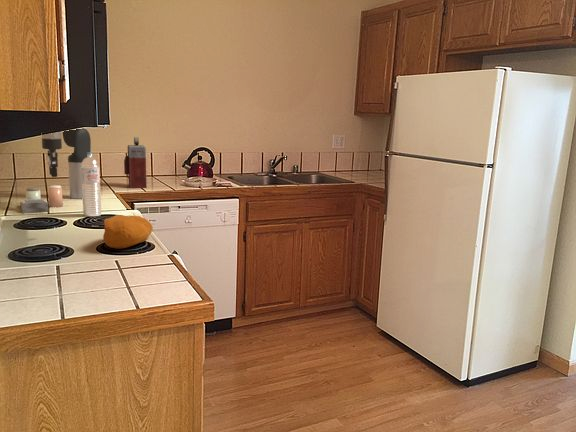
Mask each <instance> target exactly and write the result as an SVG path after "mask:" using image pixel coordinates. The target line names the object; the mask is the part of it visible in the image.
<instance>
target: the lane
mask: <svg viewBox="0 0 576 432" xmlns="http://www.w3.org/2000/svg"><path fill="white" fill-rule="evenodd" d="M19 205H20V210H21V212H22V214H35V213H36V214H37V213H38V212H39V213H49V201H44V202H36V203H25V202H23V201H21V202H19Z"/></svg>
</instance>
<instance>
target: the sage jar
mask: <svg viewBox="0 0 576 432" xmlns="http://www.w3.org/2000/svg"><path fill="white" fill-rule="evenodd" d="M25 189H26V190H25V200H30V199H42V197H41V196H42V195H41V190H40V187H35V186H34V187H30V186H29V187H26V188H25Z"/></svg>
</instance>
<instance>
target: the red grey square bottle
mask: <svg viewBox="0 0 576 432" xmlns="http://www.w3.org/2000/svg"><path fill="white" fill-rule="evenodd" d="M139 141H140V139H139V136H134V137H133V144H128V145H127V155H125V156H124V160H123V165H124V167H123V169H124V173H123V174H124V175H127V176H128V188H129V189H147V186H148V185H147V154H146V153H147V150H146V149H147V148H146V146H145V145H144V144H143V145H142V144H140V142H139Z"/></svg>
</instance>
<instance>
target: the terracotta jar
mask: <svg viewBox="0 0 576 432" xmlns="http://www.w3.org/2000/svg"><path fill="white" fill-rule="evenodd" d="M47 191H48V208H52V207H54V208H55V207H56V208H55V209H57V208H63V205H64V204H63V187H62V185H59V184H54V185H48V188H47ZM54 208H53V209H54Z"/></svg>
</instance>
